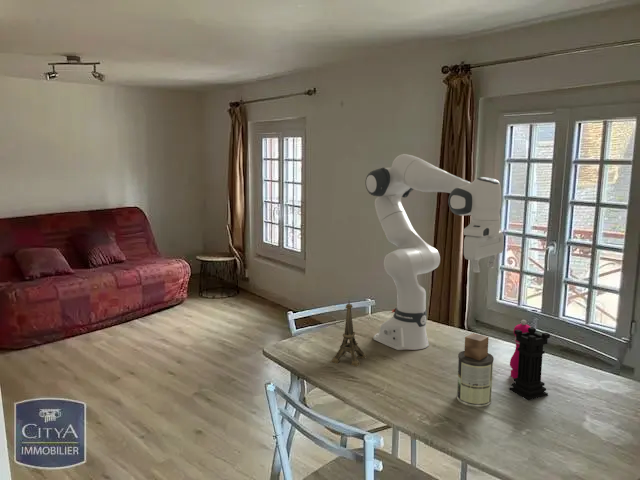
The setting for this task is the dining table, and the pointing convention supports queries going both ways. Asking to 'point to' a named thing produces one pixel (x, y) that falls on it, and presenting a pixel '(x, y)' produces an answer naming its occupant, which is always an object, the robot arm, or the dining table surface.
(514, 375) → the pepper mill
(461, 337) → the dining table surface
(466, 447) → the dining table surface
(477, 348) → the walnut block
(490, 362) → the coffee can
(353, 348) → the eiffel tower
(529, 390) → the chess piece
